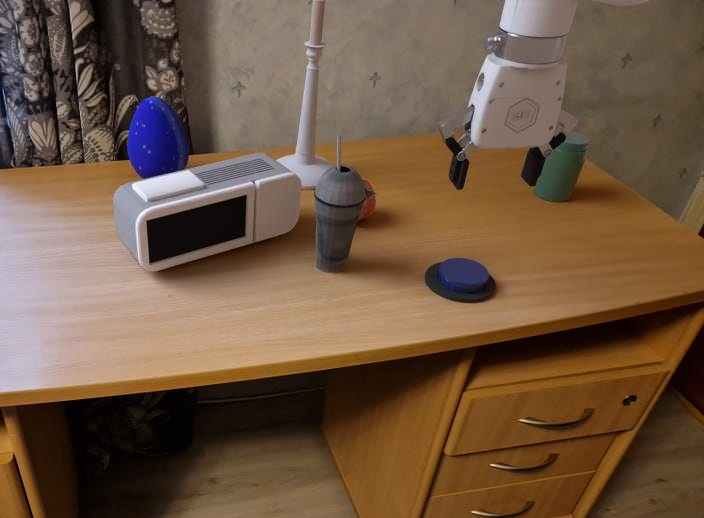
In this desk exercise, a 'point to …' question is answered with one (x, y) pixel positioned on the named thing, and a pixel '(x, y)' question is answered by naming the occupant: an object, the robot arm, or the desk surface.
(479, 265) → the lid
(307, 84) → the candlestick
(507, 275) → the desk surface
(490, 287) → the coaster
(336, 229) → the beverage cup
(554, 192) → the jar
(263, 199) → the alarm clock
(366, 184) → the pomegranate
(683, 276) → the desk surface
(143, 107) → the ornament
